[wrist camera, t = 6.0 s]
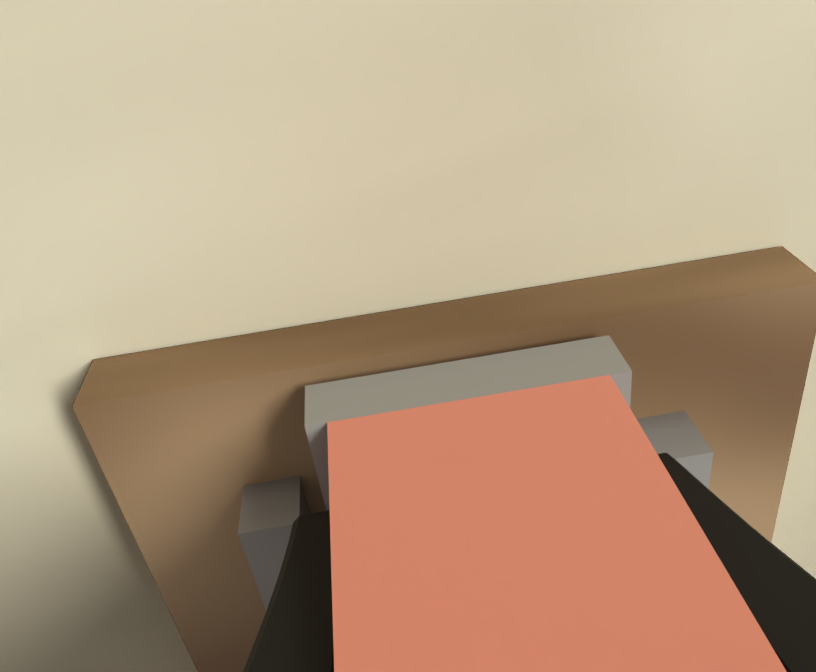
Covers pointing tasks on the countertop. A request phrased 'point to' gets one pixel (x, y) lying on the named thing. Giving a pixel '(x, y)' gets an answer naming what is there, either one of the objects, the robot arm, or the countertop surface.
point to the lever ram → (515, 525)
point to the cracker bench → (420, 346)
